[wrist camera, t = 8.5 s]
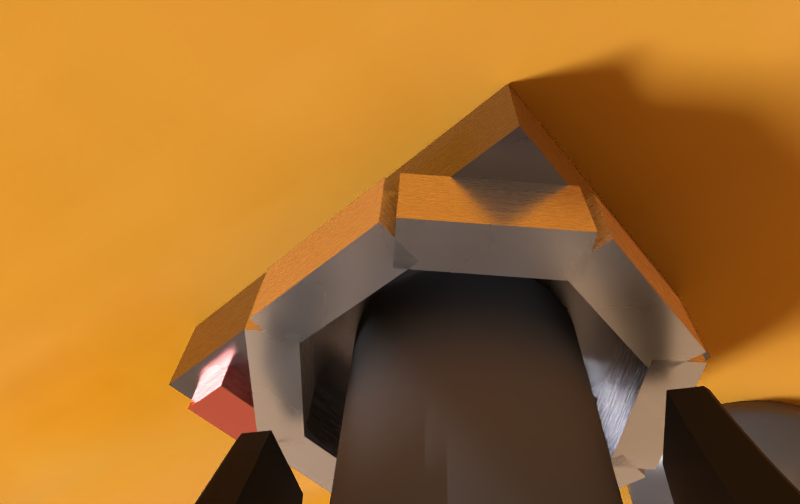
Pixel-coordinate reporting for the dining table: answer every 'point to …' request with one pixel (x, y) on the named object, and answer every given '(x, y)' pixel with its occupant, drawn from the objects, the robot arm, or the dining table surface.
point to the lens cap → (767, 427)
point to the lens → (470, 399)
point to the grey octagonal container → (460, 253)
